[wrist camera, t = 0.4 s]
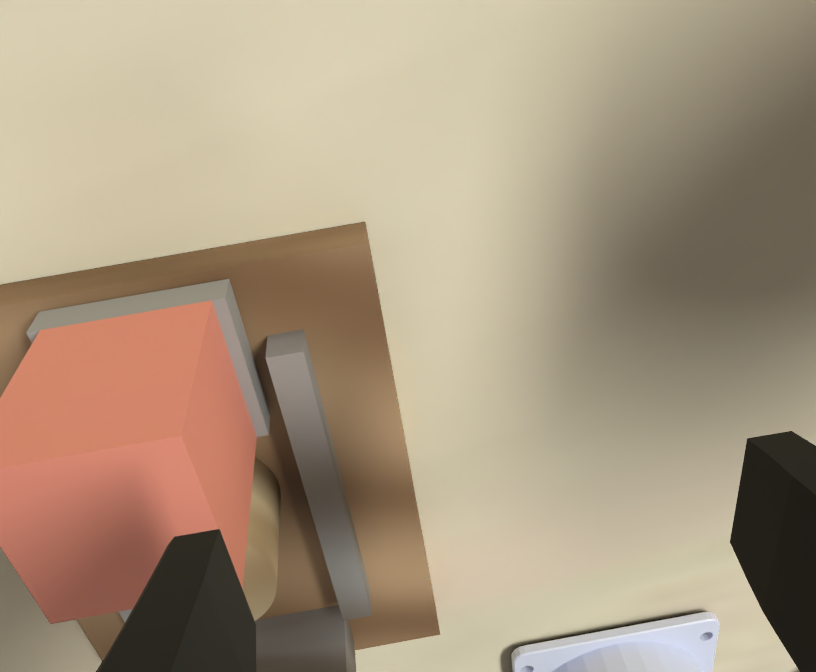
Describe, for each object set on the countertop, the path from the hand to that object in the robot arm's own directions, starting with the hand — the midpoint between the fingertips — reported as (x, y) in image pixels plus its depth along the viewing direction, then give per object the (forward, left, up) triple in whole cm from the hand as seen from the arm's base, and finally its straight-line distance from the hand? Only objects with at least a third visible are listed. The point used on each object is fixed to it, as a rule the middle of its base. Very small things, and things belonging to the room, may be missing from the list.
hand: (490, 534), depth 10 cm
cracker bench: (-7, +7, -10) cm, 14 cm away
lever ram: (-2, +6, -8) cm, 11 cm away
